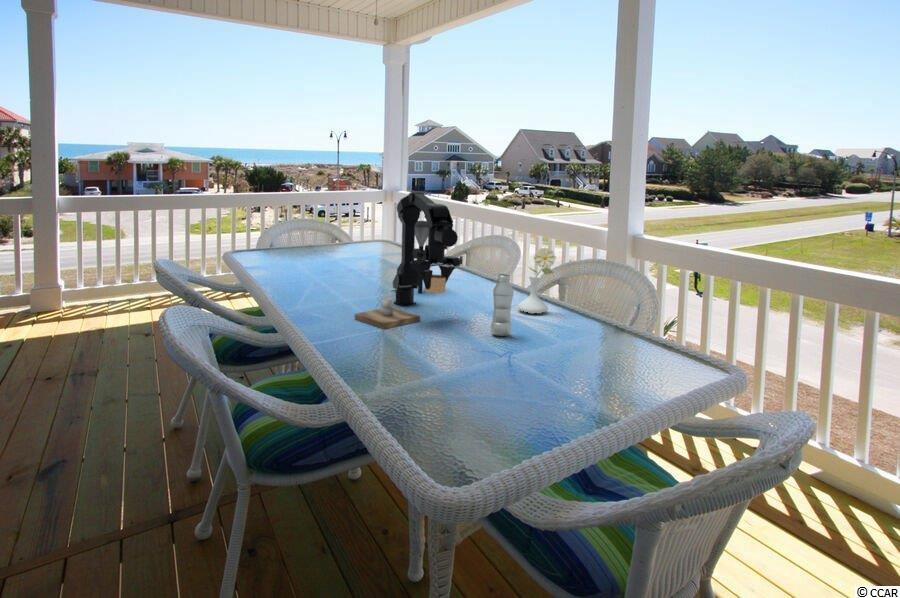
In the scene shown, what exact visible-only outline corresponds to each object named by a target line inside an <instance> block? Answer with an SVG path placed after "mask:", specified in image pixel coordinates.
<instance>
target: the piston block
mask: <svg viewBox="0 0 900 598" xmlns="http://www.w3.org/2000/svg"><path fill="white" fill-rule="evenodd" d="M381 301H382V303H381V304H382V307H381V308H379V309H373V310H368V311H367V310H366V311H363V312H358V313H354V320H355V321H359V322H362V323H365V324H367V325H371V326H373V327H375V328H379V329H382V330H387V329H392V328H396V327H400V326H406V325H411V324H415V323H419V322H421V315H419V314H415V313H412V312H408V311H405V310H402V309H399V308H396V307H394V299H393V298H390V297H386V298H385V297H384V298H382V300H381Z"/></svg>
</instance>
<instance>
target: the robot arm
mask: <svg viewBox="0 0 900 598" xmlns="http://www.w3.org/2000/svg"><path fill="white" fill-rule="evenodd" d="M396 212H397V218H398V219H399V221H400V223H401V226H402V227H401V262H400V264H398V265H399V266H398V267H397V269H396V274H395V276H394V278H393V280H392V288H393V289H395V290H396V292H395V301H393V304H396V305H398V306H402V307H407V306H412V305H416V304H417V302H416V301H415V299H414V298H415V297H414V296H415V292H414V291H415V289H416V290H418V283H419V273H420V274H421V276H422V278H423V285H424V289H425V288H426V289H429V287H430V282H431V277H432V275H433V270H432V269H431V268H432V267H437V266H438V268H439V270H440V275H443V276H446V283H447V282H448V280H449V278H450V276H451V275H452V273H454V270H455V269H456V268H457V267H460V266H461V260H460V258H459V257H458V256H451V255H445V252H446V251H445V250H448V248H450V247H453V246H455V245H456V244H457V241H458V239H459V238H458V237H459V236H458V233H457V232H456V231H455V229H453V228H454V220H453V217H452V215H451V212H450V210H449V208H448V206H447V205H445V204H442V203H436V202H434V201H433V200H431V199H430V198H429V197H428V196H427V195H425V193H424V192H421V191H411V192H409V193H408V194H407V195H406V196H404V197H402V198H401V199H399V201H398V203H397V205H396ZM421 212H423V213H424V219H425V221H427V222H428V225H427V228H428V238H427V244H424V249H423V250H421V251H420V249H419V248H415V242H416V241H415V239H416V237H415V224H416V223H417V221H419V219H420V218H421V216H420V215H421Z"/></svg>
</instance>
